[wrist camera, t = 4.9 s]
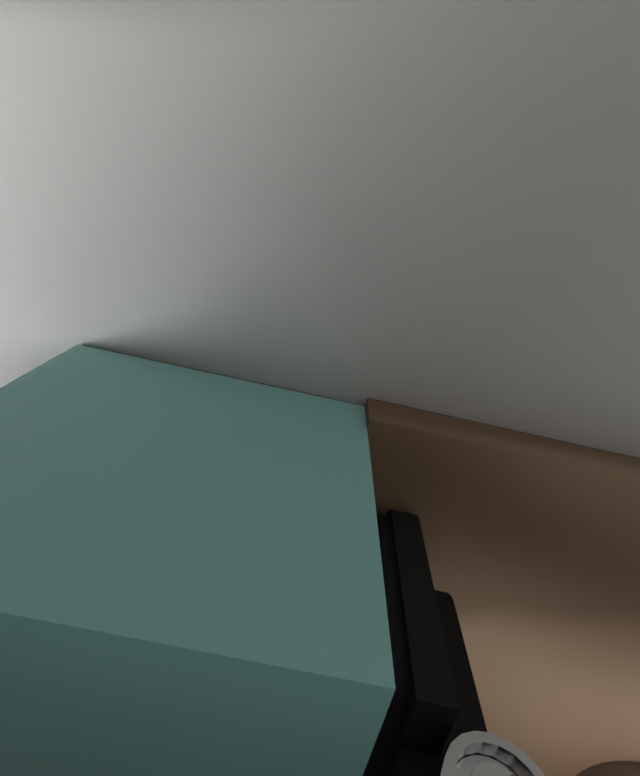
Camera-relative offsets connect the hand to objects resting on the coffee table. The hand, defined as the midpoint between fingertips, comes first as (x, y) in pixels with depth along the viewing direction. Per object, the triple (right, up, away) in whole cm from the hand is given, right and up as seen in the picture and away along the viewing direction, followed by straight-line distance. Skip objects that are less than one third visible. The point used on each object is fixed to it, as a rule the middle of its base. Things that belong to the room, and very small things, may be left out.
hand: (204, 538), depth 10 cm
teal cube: (0, +1, +1) cm, 1 cm away
